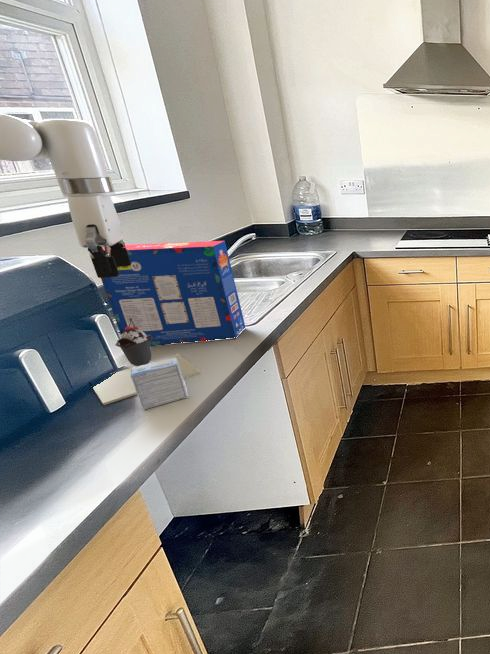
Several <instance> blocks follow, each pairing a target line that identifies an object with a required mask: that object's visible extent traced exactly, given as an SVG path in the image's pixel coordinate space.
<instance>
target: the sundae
mask: <svg viewBox="0 0 490 654" xmlns="http://www.w3.org/2000/svg"><path fill="white" fill-rule="evenodd" d="M129 320H130V324H131V321H132V318H130V319H129ZM132 323H133V322H132ZM133 325H134V323H133ZM152 339H153V337H152V335H146V333H144V332H142V331H139V330H138V327H135V325H134V327H132V328H131V327H130V325H129V326H128V327H126V328H125V331H124V332H123V333H122V335H121V334H120V339H118V340H116V343H115V346H116V347H118V348H120V349H121V351H122V353H123V354H124V356H125V358H126V360H127V361H128V363H130V365H133V367H136V366H141V365H145V364H148V363H149V362H151V360H152V359H153V358H152V355H153V353H152V348H151V347H152V346H150V341H151V340H152Z"/></svg>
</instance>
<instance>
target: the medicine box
mask: <svg viewBox="0 0 490 654" xmlns="http://www.w3.org/2000/svg"><path fill="white" fill-rule="evenodd" d="M132 367H133V368H132ZM132 367H131V368H132V370H131V378H132V381H133V383H134V386H135V389H136V392H137V395H136V396H137V398H138V400H139V402H140V406H141V408H142V410H143V411H145V410H147V409H151V408H155V407H158V406H162V405H166V404H169V403H173V402H176V401H179V400H182V399H187V398H189V394H188V389H187V386H186V382H185V380H184V379H183V376H182V373H181V369H180V366H179V363H178V360H177V358H171V359H166V360H162V361H158V362H154V363H149V364H145V365H141V366H137V367H136V366H132Z"/></svg>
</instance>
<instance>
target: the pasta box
mask: <svg viewBox="0 0 490 654" xmlns="http://www.w3.org/2000/svg"><path fill="white" fill-rule="evenodd" d="M226 244H227V243H226V241H225V240H212V241H211V240H210V241H188V242H187V241H186V242H185V241H183V242H162V243H160V242H159V243H158V242H157V243H140V244H139V243H137V244H125V247H123V248H126V249H127V252H128V255H129V258H130V261H131V265H130V266H122V267H117V269H118V272H119V275H118V276H115V277H105V278H100V280H101V282H102V285H103V288H104V291H105V294H106V297H107V299H108V302H109V305H110V309H111V311H112V314H113V317H114V319H115V322H116V325H117V328H118V331H119V334H120V336H121V335H122V333H123V332H124V331H125V328H126V327H128V326H129V325H130V327H131V328H132V327H134V325H135V327H138V330H139V331H142V332H144V333H146V335H152V337H153V339H152V340H151V341H150V347H157V346H156V345H162V346H166V345H165V344H171V343H181V342H182V343H183V342H195V341H206V340H207V341H208V340H215V339H226V338H234V337H235V338H236V337H237V336H238V335H239V333H240V332H241V331H242V330H243V329H244V328H245V327H246V324H245V320H244V315H243V312H242V306H241V303H240V298H239V295H238V289H237V285H236V281H235V278H234V274H233V270H232V265H231V260H230V257H229V253H228V247H227V245H226ZM103 250H104V247H103ZM130 318H132V321H131V324H130V320H129V319H130ZM132 322H133V323H134V325H133V323H132ZM239 336H240V335H239ZM208 342H209V341H208Z"/></svg>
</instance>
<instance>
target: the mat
mask: <svg viewBox="0 0 490 654" xmlns="http://www.w3.org/2000/svg"><path fill="white" fill-rule="evenodd" d="M171 358H177V360H178V363H179V366H180V369H181V373H182V376H183V379H188V378H190V377H194V376H196V375H200V374H201V371H200V370H199V369H198V368H197V367H196V366H194V365H193V364H192V363H191V362H190V361H189V360H187V359H186V358H185V357H184V356H183V355H181V354H180V353H176V354H173V355H170V356H166V357H163V358H160V359H156V360H153V361H150V362H149V363H154V362H158V361H162V360H166V359H171ZM149 363H148V364H149ZM133 367H134V366H132V367H129V368H126V369H122V370H119V371H115V372H116V373H115V372H114V373H115V374H113V375H112V376H111V377H109V378H108V379H106V380H104V381H103V382H101V383H100V384H97V385H96V386H94V387H93V388H92V389H93V391H94V392H95V394H96V396H97V397H98V399H99V401H100V402H101V403H102V405H103V406H107V405H110V404H112V403H115V402H119V401H122V400H124V399H128V398H131V397H135V396H138V395H137V392H136V389H135V386H134V383H133V381H132V378H131V370H132V368H133ZM135 367H137V366H135Z"/></svg>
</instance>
